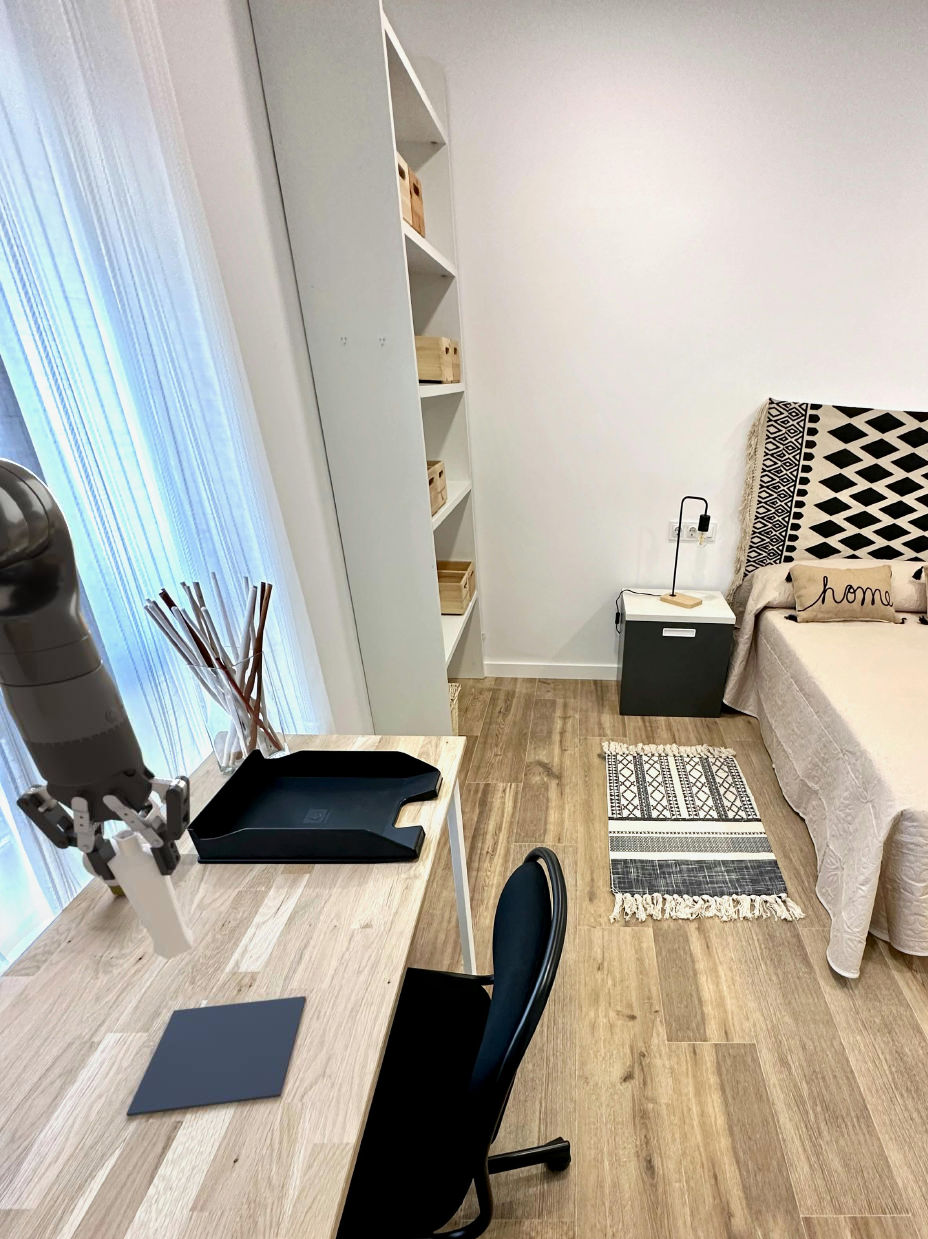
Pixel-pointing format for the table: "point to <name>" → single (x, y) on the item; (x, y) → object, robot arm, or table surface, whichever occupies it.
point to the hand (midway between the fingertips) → (141, 872)
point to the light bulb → (112, 884)
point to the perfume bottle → (150, 895)
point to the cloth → (220, 1056)
